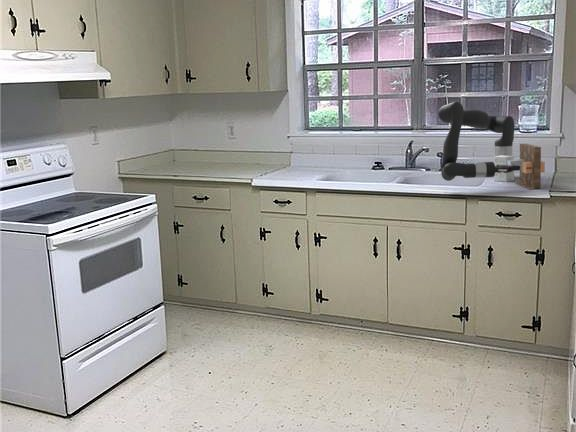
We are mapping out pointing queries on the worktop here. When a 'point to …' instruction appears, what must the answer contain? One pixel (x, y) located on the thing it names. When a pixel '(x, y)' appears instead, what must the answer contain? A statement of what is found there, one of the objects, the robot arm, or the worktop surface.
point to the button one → (516, 163)
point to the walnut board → (534, 156)
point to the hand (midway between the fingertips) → (519, 167)
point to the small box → (503, 161)
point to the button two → (531, 167)
